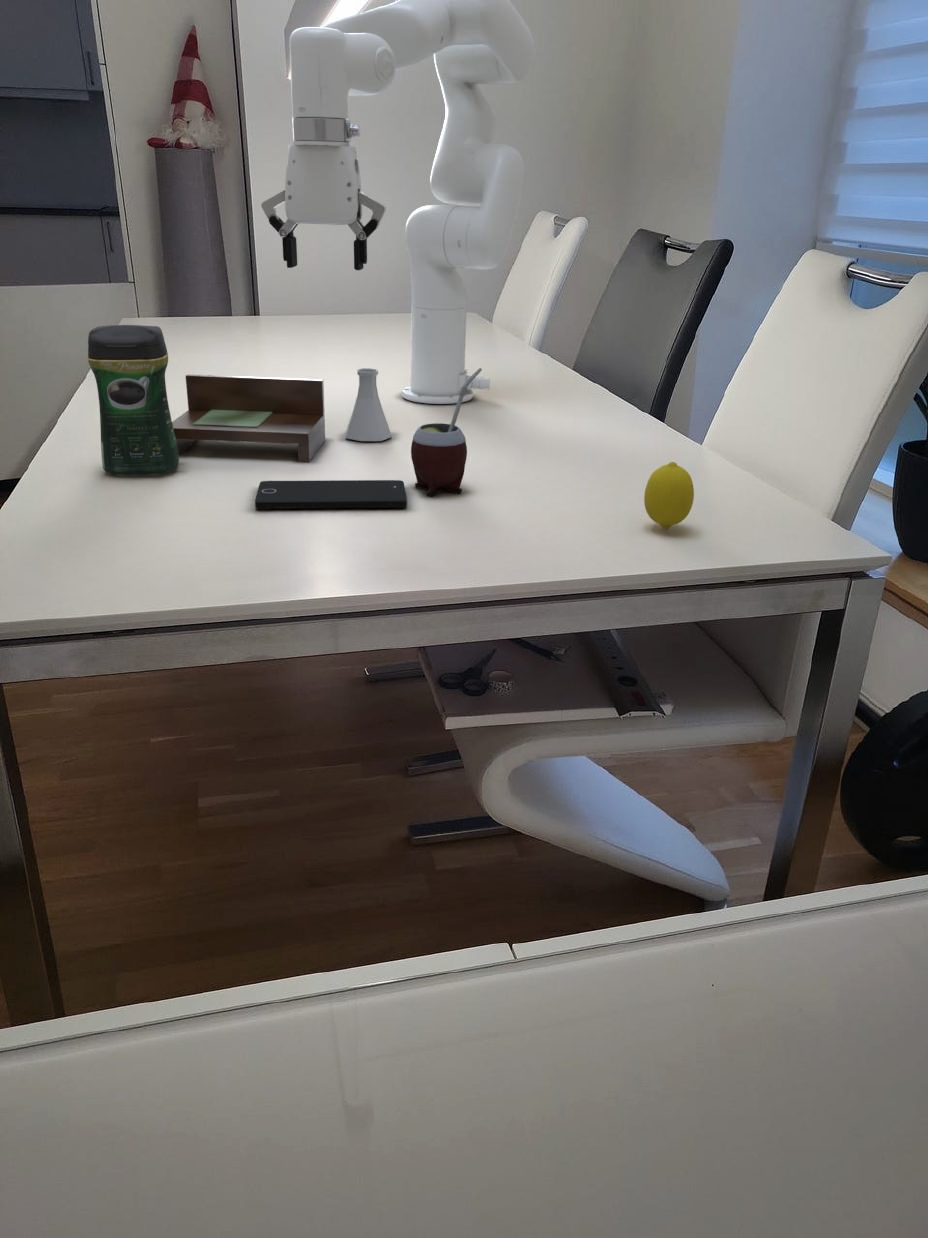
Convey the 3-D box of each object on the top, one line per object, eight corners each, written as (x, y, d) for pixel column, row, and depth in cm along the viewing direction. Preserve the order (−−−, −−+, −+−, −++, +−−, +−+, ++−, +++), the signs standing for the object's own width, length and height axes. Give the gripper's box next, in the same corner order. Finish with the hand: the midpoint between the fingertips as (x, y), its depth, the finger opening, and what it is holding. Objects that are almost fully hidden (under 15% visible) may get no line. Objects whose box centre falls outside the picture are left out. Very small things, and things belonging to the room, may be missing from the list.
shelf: (325, 440, 149) (323, 379, 146) (309, 462, 139) (306, 396, 135) (192, 435, 150) (187, 374, 147) (166, 456, 139) (160, 391, 136)
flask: (385, 444, 148) (384, 376, 144) (338, 440, 149) (336, 372, 145) (397, 433, 155) (397, 367, 150) (352, 429, 156) (351, 364, 152)
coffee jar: (183, 461, 137) (169, 320, 130) (175, 477, 130) (160, 330, 122) (109, 462, 136) (91, 320, 128) (97, 478, 129) (78, 329, 121)
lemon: (635, 521, 119) (642, 455, 116) (681, 521, 119) (689, 455, 116) (647, 537, 114) (655, 468, 111) (695, 537, 114) (704, 468, 111)
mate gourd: (402, 493, 126) (402, 373, 120) (425, 477, 133) (427, 362, 127) (457, 501, 124) (460, 379, 118) (478, 484, 131) (482, 367, 125)
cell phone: (260, 487, 127) (260, 480, 126) (403, 486, 129) (403, 479, 128) (254, 509, 119) (254, 502, 118) (407, 508, 121) (407, 500, 120)
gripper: (389, 136, 138) (390, 267, 145) (266, 133, 140) (273, 263, 147) (379, 134, 131) (380, 273, 138) (250, 131, 133) (258, 268, 140)
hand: (325, 268), depth 142 cm, fingers open, 9 cm apart
